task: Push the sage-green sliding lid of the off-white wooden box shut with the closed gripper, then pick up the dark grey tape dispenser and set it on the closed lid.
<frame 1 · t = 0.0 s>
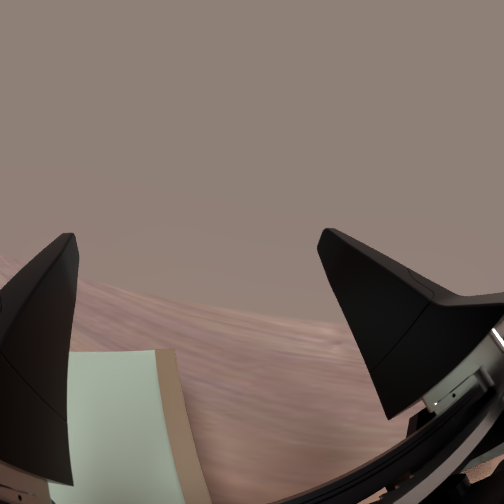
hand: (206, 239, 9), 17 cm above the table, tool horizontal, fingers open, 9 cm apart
grey-green cup: (455, 440, 17), on the table
lid: (70, 435, 10), point 6 cm above the table, slide at -8.0 cm
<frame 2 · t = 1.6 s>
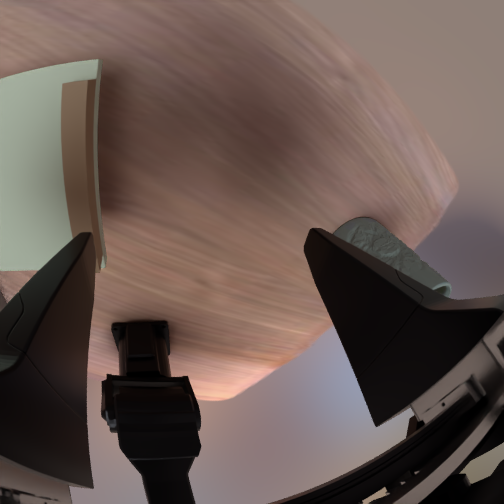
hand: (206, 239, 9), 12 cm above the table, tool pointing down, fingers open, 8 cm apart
grey-green cup: (352, 247, 31), on the table
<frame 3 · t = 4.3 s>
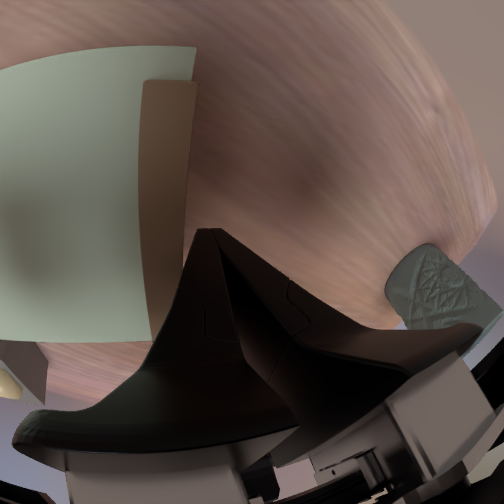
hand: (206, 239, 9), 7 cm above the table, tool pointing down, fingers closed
grey-green cup: (411, 271, 29), on the table
tape dispenser: (16, 337, 17), on the table
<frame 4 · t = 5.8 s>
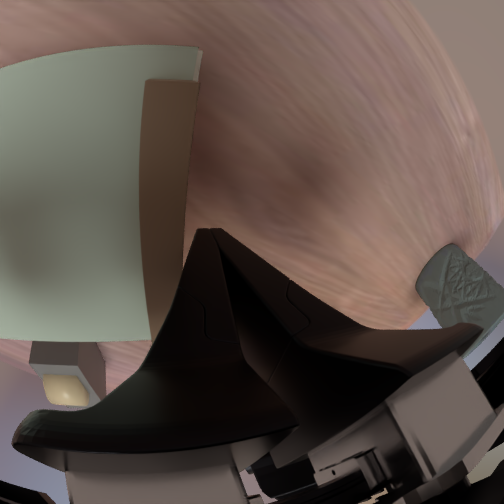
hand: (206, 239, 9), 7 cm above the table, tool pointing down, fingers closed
grey-green cup: (436, 268, 31), on the table
tape dispenser: (74, 339, 19), on the table
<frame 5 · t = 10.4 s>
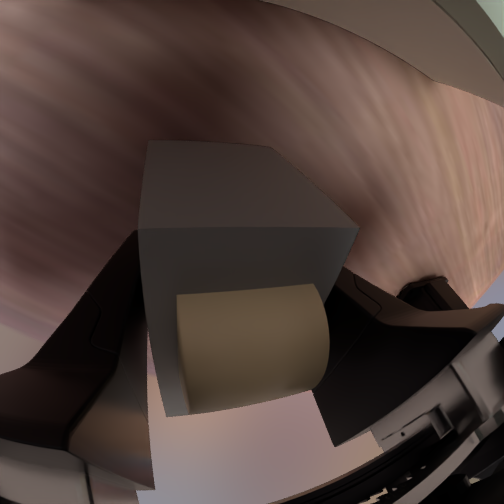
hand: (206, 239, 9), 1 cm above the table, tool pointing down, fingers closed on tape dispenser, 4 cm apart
tape dispenser: (199, 245, 10), on the table, touching gripper
when the fingers open (8 cm above the table, at t = 13.7 s): tape dispenser drops 1 cm, resting on lid.
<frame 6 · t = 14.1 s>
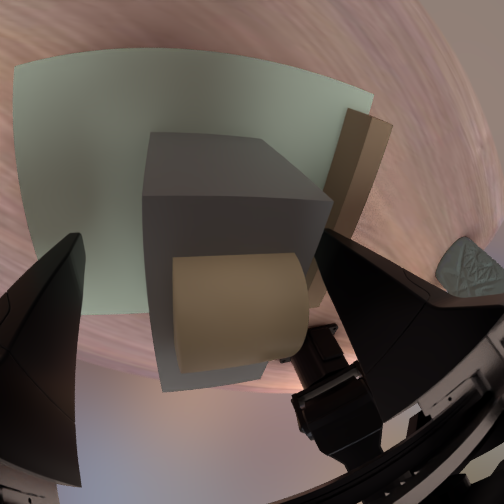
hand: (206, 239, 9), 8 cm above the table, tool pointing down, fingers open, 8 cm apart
grey-green cup: (452, 257, 35), on the table
tape dispenser: (196, 229, 11), point 6 cm above the table, touching lid
lid: (189, 212, 10), point 6 cm above the table, slide at 0.4 cm, touching tape dispenser
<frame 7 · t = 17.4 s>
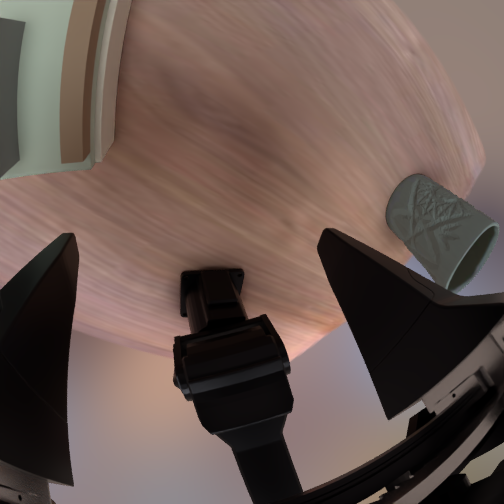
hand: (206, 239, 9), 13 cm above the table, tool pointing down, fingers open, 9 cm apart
box: (33, 73, 11), on the table
grey-green cup: (408, 203, 31), on the table
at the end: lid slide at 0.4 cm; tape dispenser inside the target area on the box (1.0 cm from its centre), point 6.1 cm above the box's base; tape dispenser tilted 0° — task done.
